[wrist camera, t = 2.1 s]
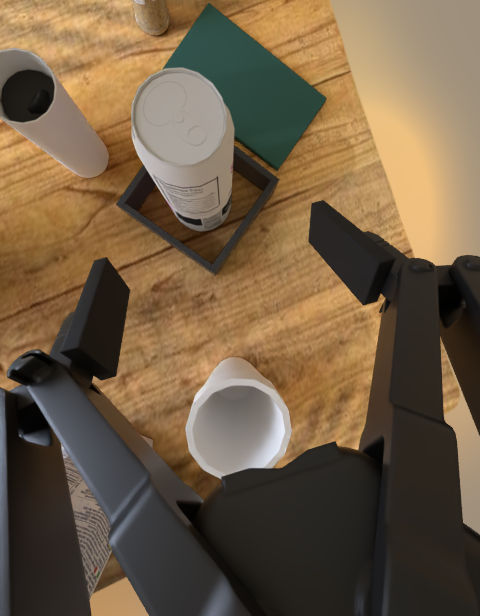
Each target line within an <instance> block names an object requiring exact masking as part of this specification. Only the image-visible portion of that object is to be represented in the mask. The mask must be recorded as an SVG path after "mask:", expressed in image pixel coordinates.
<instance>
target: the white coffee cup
mask: <svg viewBox="0 0 480 616" xmlns="http://www.w3.org/2000/svg"><path fill="white" fill-rule="evenodd" d="M0 119H2V120H3V121H4V122H6V123H7V124H8V125H10V126H11V127H12V128H14V129H15V130H16V131H18V132H19V133H21V134H22V135H23V136H25V137H26V138H27V139H29V140H30V141H31V142H33V143H34V144H35V145H37V146H38V147H39V148H41V149H42V150H44V151H45V152H46V153H48V154H49V155H50V156H52V157H53V158H54V159H56V160H57V161H58V162H60V163H61V164H63V165H64V166H65V167H67V168H68V169H69V170H71V171H72V172H73V173H75V174H77V175H78V176H80V177H85V178H92V177H96V176H98V175H100V174H101V173H103V172H104V171H105V169H106V167H107V165H108V161H109V154H108V150H107V147H106V146H105V144H104V143H103V142H102V140H101V139H100V137H99V136H98V135H97V133H96V132H95V131H94V129H93V128H92V126H91V125H90V124H89V122H88V121H87V119H86V118H85V117H84V115H83V114H82V112H81V111H80V110H79V108H78V107H77V105H76V104H75V103H74V101H73V100H72V98H71V97H70V96H69V94H68V93H67V91H66V90H65V89H64V87H63V86H62V84H61V83H60V82H59V80H58V79H57V77H56V76H55V75H54V73H53V72H52V71H51V69H50V68H49V67H48V65H47V64H46V63H45V61H44V60H43V59H42V58H40V57H39V56H37V55H35V54H34V53H32V52H31V51H28V50H23V49H18V48H11V49H6V50H1V51H0Z"/></svg>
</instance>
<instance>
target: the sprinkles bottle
mask: <svg viewBox="0 0 480 616" xmlns="http://www.w3.org/2000/svg"><path fill="white" fill-rule="evenodd" d="M131 2H132V5H133V8H134V12H135V17H136V21H137V23H138V25H139V27H140V28H141V29H142V30H143V31H144V32H145V33H147V34H149V35H160V34H162V33H163V32H164V31H166V30H167V28H168V26H169V21H170V15H169V10H168V8H167V5H166V0H131Z"/></svg>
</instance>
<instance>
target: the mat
mask: <svg viewBox="0 0 480 616" xmlns="http://www.w3.org/2000/svg"><path fill="white" fill-rule="evenodd" d="M181 67H182V68H185V69H189V70H192V71H195V72H198V73H200V74H201V75H202V76H204V77H205V78H207V79H208V80H209V81H211V82H212V83H213V85H214V86H215V87H216V89H217V90H218V92H219V93H220V95H221V96H222V98H223V102H224V104H225V105H226V106H227V108H228V109H229V111H230V114H231V118H232V121H233V125H234V128H235V129H234V138H235V139H236V140H237V141H239V142H240V143H241V144H243V145H244V146H245V147H246V148H248V149H249V150H250V151H252V152H253V153H254V154H256V155H257V156H258V157H260V158H261V159H262V160H264V161H265V162H266V163H267V164H269V165H270V166H271V167H273V168H274V169H275V170H278V169H279V168H280V166H281V165H282V163H283V162H284V160H285V159H286V158H287V156H288V155H289V153H290V152H291V150H292V149H293V147H294V146H295V145H296V143H297V142H298V140H299V139H300V137H301V136H302V134H303V133H304V132H305V130H306V129H307V127H308V126H309V124H310V123H311V121H312V120H313V119H314V117H315V116H316V114H317V113H318V111H319V110H320V109H321V107H322V106H323V104H324V103H325V101H326V99H327V98H326V97H325V96H323V95H322V94H321V93H320V92H318V91H317V90H316V89H315V88H313V87H312V86H311V85H310V84H308V83H307V82H306V81H305V80H304V79H302V78H301V77H300V76H299V75H297V74H296V73H295V72H294V71H292V70H291V69H290V68H289V67H287V66H286V65H285V64H284V63H282V62H281V61H280V60H279V59H278V58H276V57H275V56H274V55H273V54H271V53H270V52H269V51H268V50H266V49H265V48H264V47H263V46H261V45H260V44H259V43H258V42H257V41H255V40H254V39H253V38H252V37H250V36H249V35H248V34H247V33H245V32H244V31H243V30H242V29H240V28H239V27H238V26H237V25H235V24H234V23H233V22H232V21H231V20H229V19H228V18H227V17H226V16H224V15H223V14H222V13H221V12H219V11H218V10H217V9H216V8H214V7H213V6H212V5H211V4H210V3H208V4H207V6H206V7H205V9H204V10H203V11H202V13H201V14H200V16H199V17H198V19H197V20H196V22H195V23H194V24H193V26H192V27H191V29H190V30H189V32H188V33H187V35H186V36H185V37H184V39H183V40H182V42H181V43H180V45H179V46H178V48H177V49H176V50H175V52H174V53H173V55H172V56H171V58H170V59H169V61H168V62H167V63H166V65H165V66H164V68H163V69H165V68H181ZM163 69H162V70H163Z"/></svg>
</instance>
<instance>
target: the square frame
mask: <svg viewBox="0 0 480 616" xmlns="http://www.w3.org/2000/svg"><path fill="white" fill-rule="evenodd" d="M233 169H234V170H236V171H237V172H238V173H240V174H241V175H242V176H244V177H245V178H246V179H248V180H249V181H250V182H252V183H253V184H254V185H256V186H257V187H258V188H260V189H261V190H262V191H263V193H262V194H261V195H260V197H259V198H258V200H257V201H256V203H255V204H254V206H253V207H252V208H251V210H250V211H249V213H248V214H247V216H246V217H245V219H244V220H243V221H242V223H241V224H240V226H239V227H238V229H237V230H236V231H235V233H234V234H233V236H232V237H231V239H230V240H229V242H228V243H227V244H226V246H225V247H224V249H223V250H222V252H221V253H220V255H219V256H218V257H217V259H216V260H215V262H214V263H213V265H212V264H211V263H210V262H208V261H207V260H205V259H204V258H203V257H201V256H200V255H198V254H197V253H195V252H194V251H193V250H191V249H190V248H188V247H187V246H185V245H184V244H183V243H181V242H180V241H178V240H177V239H176V238H174V237H173V236H171V235H170V234H168V233H167V232H166V231H164V230H163V229H161V228H160V227H159V226H157V225H156V224H154V223H153V222H151V221H150V220H149V219H147V218H146V217H144V216H143V215H141V214H140V213H139V212H138V210H139V209H140V207H141V206H142V204H143V203H144V202H145V200H146V199H147V197H148V196H149V194H150V193H151V191H152V190H153V189H154V187H155V186H156V184H155V182H154V181H153V179H152V177H151V176H150V174H149V173H148V171H147V169H146V168H145V166H144V165H143V166H142V168H141V169H140V170H139V172H138V173H137V175H136V176H135V178H134V179H133V181H132V182H131V183H130V185H129V186H128V188H127V189H126V191H125V192H124V194H123V195H122V196H121V198H120V199H119V201H118V202H117V204H116V205H117V206H118V207H120V208H121V209H122V210H123V211H124V212H126V213H127V214H128V215H129V216H131V217H132V218H133V219H135V220H136V221H138V222H139V223H141V224H142V225H143V226H145V227H146V228H148V229H149V230H151V231H152V232H153V233H155V234H156V235H158V236H159V237H161V238H162V239H163V240H165V241H166V242H168V243H169V244H171V245H172V246H173V247H175V248H176V249H178V250H179V251H181V252H182V253H183V254H185V255H186V256H188V257H189V258H191V259H192V260H193V261H195V262H196V263H198V264H199V265H201V266H202V267H203V268H205V269H206V270H208V271H209V272H211V273H212V274H213V275H215V276H216V275H217V273H218V272H219V270H220V269H221V267H222V266H223V264H224V263H225V262H226V260H227V259H228V257H229V256H230V254H231V253H232V251H233V250H234V249H235V247H236V246H237V244H238V243H239V241H240V240H241V239H242V237H243V236H244V234H245V233H246V231H247V230H248V228H249V227H250V226H251V224H252V223H253V221H254V220H255V218H256V217H257V215H258V214H259V213H260V211H261V210H262V208H263V207H264V205H265V204H266V202H267V201H268V200H269V198H270V197H271V195H272V194H273V192H274V190H275V188H276V186H277V183H278V181H279V179H278V178H277V177H276V176H274V175H273V174H272V173H270V172H269V171H268V170H266V169H265V168H264V167H262V166H261V165H260V164H258V163H257V162H256V161H254V160H253V159H252V158H250V157H249V156H248V155H247V154H245V153H244V152H243V151H241V150H240V149H239V148H237V147H236V146H235V145H234V151H233Z"/></svg>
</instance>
